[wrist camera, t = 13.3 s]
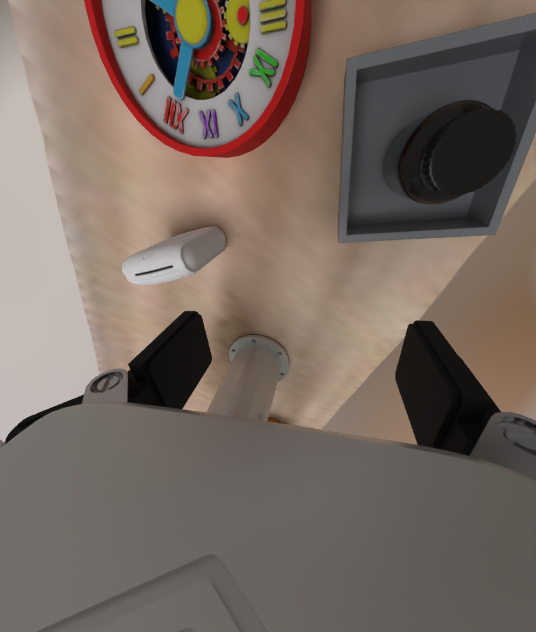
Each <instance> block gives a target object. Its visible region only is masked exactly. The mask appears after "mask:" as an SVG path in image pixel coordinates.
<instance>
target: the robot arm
mask: <svg viewBox="0 0 536 632" xmlns="http://www.w3.org/2000/svg"><path fill="white" fill-rule="evenodd" d="M229 359H230V362H231V365H230V367H229V369H228V371H227V373H226V375H225V377H224V379H223V381H222V382H221V384H220V386H219V388H218V390H217V392H216V394H215V396H214V398H213V400H212V402H211V404H210V406H209V408H208V410H207V412H206V413H205V412H198V411H190V410H183V407H184V405H185V404H186V402H187V401H188V399H189V397H190V396H191V394H192V393H193V391H194V389H195V388H196V386H197V385H198V383H199V381H200V380H201V378H202V377H203V375H204V373H205V372H206V370H207V368H208V367H209V365H210V364H211V361H212V355H211V351H210V347H209V343H208V339H207V335H206V331H205V328H204V324H203V320H202V316H201V315H200V314H198V312H196V311H184V312H183V313H182V314H181V315H180V316H179V317H178V318H177V319H176V320H175V321H174V322H172V323H171V324H170V325H169V326H168V327H167V328H166V329H165V330H164V331H163V332H162V333H161V334H160V335H159V336H158V337H157V338H155V339H154V340H153V341H152V342H151V343H150V344H149V345H148V346H147V347H146V348H145V349H144V350H143V351H142V352H141V353H140V354H139V355H137V356H136V357H135V358H134V359H133V360H132V361H131V362H130V363H129V364H128V365H129V367H130V370H129V371H128V372H127V371H125V370H124V369H113V370H109V371H107V372H104V373H102V374H100V375H99V376H97V377H95V378H94V379H93V380H92V381H91V382H90V383H89V384H88V385H87V387H86V389H85V393H84V395H82V396H79V397H77V398H75V399H72V400H69V401H67V402H64V403H62V404H59V405H57V406H54V407H52V408H49V409H47V410H45V411H42V412H39V413H37V414H35V415H32V416H30V417H27V418H26V419H24V420H23V421H22V422H20V423H19V424H18V425H17V426H16V427H15V428H14V429H13V430H12V431H11V432H10V433H9V434H8V436H7V438H6V441H5V442H2V440H0V632H536V421H535V420H533V419H531V418H528V417H525V416H523V415H520V414H516V413H512V412H501V411H500V410H499V408H498V407H497V406H496V405H495V403H494V402H493V400H492V399H491V398H490V396H489V395H488V394H487V392H486V391H485V390H484V388H483V387H482V386H481V384H480V383H479V382H478V380H477V379H476V378H475V376H474V375H473V373H472V372H471V371H470V369H469V368H468V367H467V366H466V364H465V363H464V361H463V360H462V359H461V358H460V357H459V356H458V355H457V354H456V352H455V351H454V349H453V348H452V347H451V345H450V344H449V343H448V341H447V340H446V339H445V337H444V336H443V335H442V333H441V332H440V331H439V329H438V328H437V327H436V325H435V324H434V323H433V322H432V321H414V323H413V324H409V325H408V328H407V332H406V336H405V339H404V343H403V347H402V351H401V354H400V358H399V362H398V365H397V369H396V374H395V378H396V382H397V385H398V388H399V391H400V394H401V397H402V400H403V403H404V406H405V409H406V412H407V415H408V417H409V420H410V423H411V426H412V429H413V432H414V435H415V438H416V441H417V444H418V445H414V444H408V443H402V442H396V441H390V440H384V439H378V438H372V437H366V436H360V435H353V434H346V433H339V432H333V431H327V430H320V429H314V428H307V427H301V426H294V425H287V424H280V423H274V422H267V420H268V416H269V412H270V408H271V404H272V400H273V396H274V392H275V389H276V385H277V381H279V380H281V379H282V378H283V377H285V375H286V374H287V372H288V369H289V358H288V355H287V353H286V351H285V350H284V349H283V348H282V347H281V346H280V345H279V344H278V343H277V342H275V341H273V340H272V339H270V338H267V337H264V336H260V335H246V336H242V337H240V338H238V339H237V340H236V341H234V343H233V344H232V346H231V348H230V350H229Z"/></svg>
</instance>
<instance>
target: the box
mask: <svg viewBox="0 0 536 632" xmlns="http://www.w3.org/2000/svg"><path fill="white" fill-rule="evenodd" d="M462 100H476V101H480V102H483V103H485V104H487V105H489V106H490V107H492V108H494V109H495V110H502V112H503V113H507V114H508V115H509V118H511V119H513V124H514V125H515V126H516V128H515V132H516V133H517V135H516V138H515V140H516V144H515V146H514V151H513V153H512V154H511V156H510V160H509V161H508V162H507V163H506V164H505V167H504V169H502V170H501V171H500V172H499V174H498V175H497V176H496V177H494V178H493V179H492V180H491V181H490V182H489V183H487V184H485V185H484V186H483V187H482V188H479V189H477V190H475V191H474V192H469V193H467V194H465V195H462V196H460V197H459V198H457V199H454V200H452V201H449V202H446V203H442V204H432V205H430V204H423V203H419V202H416V201H413V200H411V199H408V198H406V197H403V196H401V195H398V194H396V193H394V192H393V191H391V190H390V189H389V188H388V187H387V185H386V184H385V182H384V179H383V175H382V163H383V158H384V155H385V152H386V150H387V148H388V146H389V144H390V143H391V141H392V140H393V139H394V137H395V136H396V135H397V134H398V133H399V132H400V131H401V130H402V129H404V128H405V127H406V126H408V125H409V124H411V123H413V122H414V121H416V120H418V119H420V118H422V117H424V116H426V115H428V114H429V113H431V112H433V111H435V110H437V109H439V108H441V107H443V106H445V105H448V104H450V103H453V102H457V101H462ZM535 132H536V13H534V14H530V15H526V16H522V17H518V18H514V19H509V20H505V21H501V22H497V23H493V24H489V25H485V26H480V27H476V28H472V29H468V30H464V31H460V32H455V33H451V34H447V35H443V36H439V37H435V38H431V39H426V40H422V41H418V42H414V43H410V44H406V45H401V46H397V47H393V48H389V49H385V50H381V51H377V52H372V53H368V54H364V55H360V56H356V57H352V58H347V64H346V71H345V78H344V101H343V123H342V146H341V169H340V191H339V214H338V241H339V243H343V242H363V241H383V240H403V239H423V238H442V237H462V236H482V235H495V234H496V231H497V229H498V226H499V223H500V221H501V219H502V216H503V214H504V211H505V209H506V206H507V204H508V201H509V198H510V196H511V193H512V191H513V188H514V186H515V183H516V181H517V178H518V176H519V173H520V171H521V168H522V165H523V163H524V160H525V158H526V155H527V153H528V150H529V148H530V145H531V143H532V140H533V138H534V135H535Z"/></svg>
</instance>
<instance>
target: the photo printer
mask: <svg viewBox="0 0 536 632" xmlns="http://www.w3.org/2000/svg"><path fill="white" fill-rule="evenodd" d="M225 245H226V238H225V235H224V233H223V232H222V231H221V230H220V229H219V228H218V227H217V226H211V227H205V228H201V229H197V230H193V231H189V232H186V233H182V234H179V235H176V236H173V237H171V238H168V239H166V240H164V241H162V242H160V243H158V244H155V245H153V246H151V247H149V248H147V249H145V250H143V251H140V252H138V253H136V254H134V255H132V256H130V257H129V258H127V259H126V260H125V261H124V263H123V267H122V272H123V273H124V274H125V275H126V277H127V280H128V281H129V282H131V283H134V284H138V285H154V284H160V283H165V282H170V281H174V280H178V279H181V278H185V277H187V276H190V275H192V274H194V273H196V272H197V271H199V270H200V269H201V268H202V267H204V266H205V265H206V264H207V263H209V262H210V261H211V260H213V259H214V258H215V257H216V256H218V255H219V254H220V253H221V252H222V251H224V250H225Z"/></svg>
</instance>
